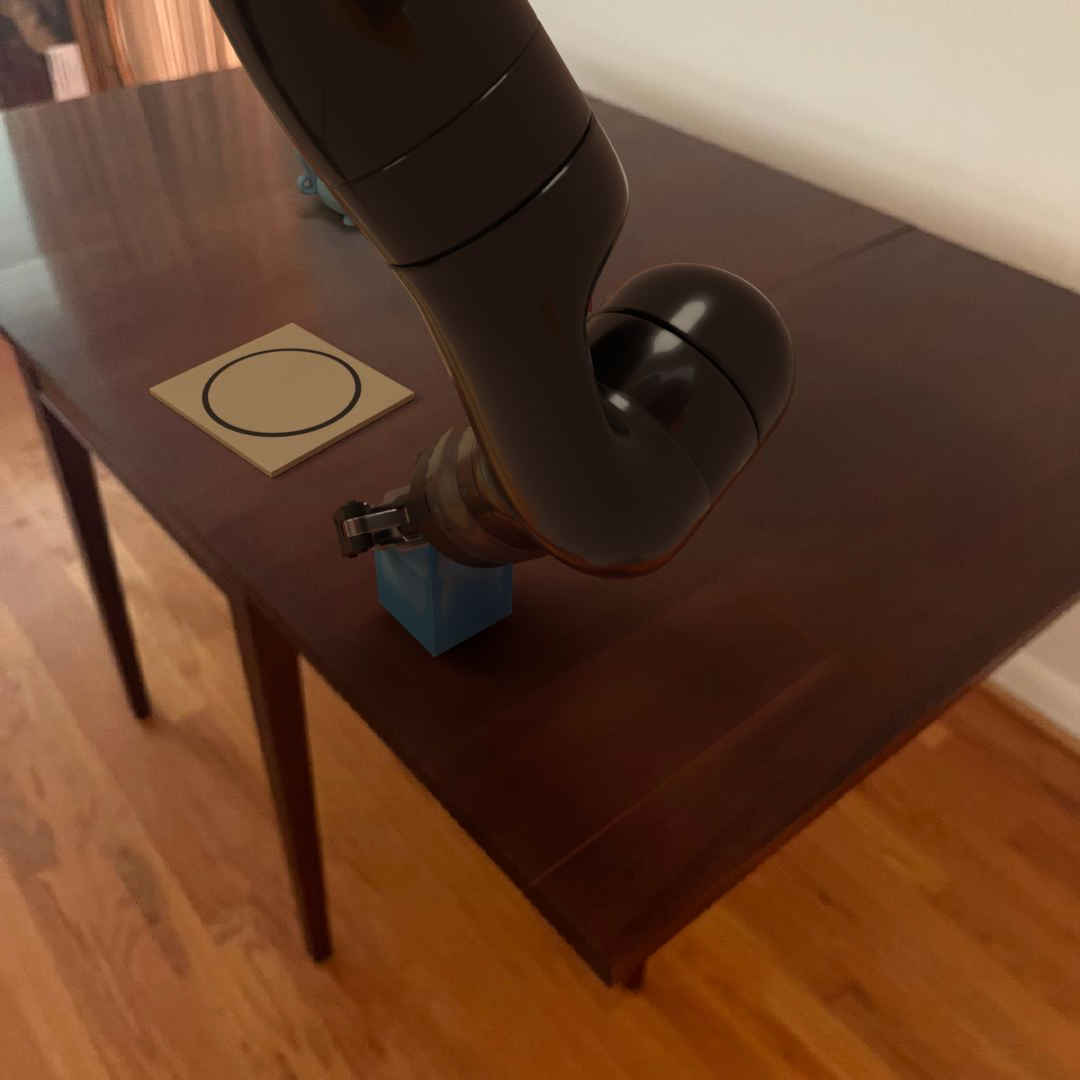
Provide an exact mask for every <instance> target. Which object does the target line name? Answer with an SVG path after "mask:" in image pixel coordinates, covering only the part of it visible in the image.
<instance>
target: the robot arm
mask: <svg viewBox="0 0 1080 1080" xmlns="http://www.w3.org/2000/svg"><path fill="white" fill-rule="evenodd" d="M208 3H209V4H210V6H211V9H212V11H213V12H214V15H215V17H216V19H217V21H218V23H219V25H220V27H221V29H222V31H223V33H224V34H225V36H226V38H227V40H228V42H229V44H230V46H231V48H232V49H233V51H234V54H235V55H236V57H237V59H238V60H239V62H240V64H241V66H242V67H243V69H244V71H245V72H246V74H247V76H248V78H249V79H250V81H251V83H252V85H253V86H254V87H255V90H256V91H257V93H258V94H259V97H261V99H262V101H263V102H264V103H265V105H266V107H267V108H268V110H269V111H270V112H271V115H272V116H273V118H274V119H275V121H276V122H277V123H278V125H279V126H280V128H281V129H282V130H283V132H284V133H285V135H286V136H287V138H288V139H289V140H290V142H291V143H292V145H293V146H294V148H295V147H296V149H297V150H298V151H299V153H300V154H301V155H302V157H303V158H304V159H305V161H306V162H307V163H308V164H309V166H310V167H311V168H312V170H313V171H314V172H315V174H316V175H317V176H318V178H319V179H320V180H321V181H322V182H323V183H324V184H325V186H326V188H327V189H328V190H329V192H330V193H331V194H332V195H333V197H334V198H335V199H336V200H337V202H338V203H339V204H340V206H341V207H342V208H343V209H344V211H345V212H346V213H347V214H348V216H349V217H350V218H351V220H352V221H353V222H354V223H355V225H356V226H355V227H357V228H358V230H359V231H360V232H361V234H362V235H363V236H364V238H365V239H366V240H367V241H368V243H369V244H370V245H371V246H372V248H373V249H374V250H375V252H376V253H377V254H378V255H379V257H380V258H381V259H382V261H384V262H385V264H386V265H387V267H388V268H389V270H390V271H391V272H392V273H393V274H394V276H395V277H396V278H397V279H398V281H399V283H401V285H402V286H403V287H404V289H405V290H406V292H407V293H408V295H409V296H410V298H411V299H412V301H413V302H414V304H415V306H416V308H417V310H418V311H419V313H420V315H421V318H422V319H423V321H424V324H425V326H426V328H427V330H428V332H429V334H430V336H431V339H432V341H433V343H434V345H435V347H436V349H437V351H438V353H439V355H440V358H441V360H442V362H443V364H444V366H445V368H446V371H447V373H448V375H449V377H450V380H451V381H452V383H453V386H454V388H455V391H456V392H457V395H458V397H459V400H460V403H461V404H462V405H461V406H462V407H463V409H464V412H465V414H464V415H463V416H462V417H461V418H459V419H458V420H457V421H456V422H454V423H453V424H452V425H451V426H450V427H448V428H446V430H445V431H443V432H442V433H441V434H439V435H438V436H437V437H436V438H435V439H433V440H432V441H431V442H430V443H429V444H428V445H427V447H426V448H424V449H425V451H424V452H423V454H422V455H421V457H420V459H419V461H418V463H417V465H416V467H414V470H413V473H412V476H413V477H412V476H411V481H410V484H407V485H404V486H401V487H397V488H395V489H392V490H388V491H386V492H385V494H384V495H383V501H382V502H381V503H378V504H376V503H373V504H371V503H370V502H369V501H365V502H364V501H356V500H349V501H347V502H345V503H346V504H344V505H341V506H339V507H338V508H337V509H336V511H335V512H334V513H333V514H332V515H331V518H332V522H333V524H334V526H335V530H336V535H337V537H338V538H337V539H338V542H339V543H338V544H339V546H340V549H339V551H340V554H341V558H348V559H349V560H350V559H354V558H358V557H359V556H358V555H360V554H363V553H367V552H369V550H371V552H375V550H378V552H381V551H385V550H387V549H386V548H387V547H391V546H395V547H396V549H397V550H398V551H400V552H403V551H407V550H412V549H417V548H420V547H424V546H428V545H432V546H433V547H434V548H435V549H436V550H437V551H438V552H439V553H441V554H442V555H443V556H445V557H447V558H448V559H450V560H452V561H454V562H456V563H459V564H461V565H464V566H468V567H473V568H496V567H501V566H506V565H510V564H513V565H515V564H519V563H524V562H529V561H534V560H538V559H542V558H546V557H548V556H551V557H553V558H554V559H555V560H557V561H558V562H560V563H561V564H563V565H565V566H567V567H568V568H569V569H573V570H575V571H577V572H580V573H581V574H584V575H587V576H592V577H596V578H600V579H605V580H632V579H635V578H636V579H637V578H641V577H645V576H648V575H650V574H653V573H655V572H656V571H657V570H659V569H661V568H662V567H664V566H665V565H666V564H668V563H669V562H670V561H671V560H672V559H673V558H674V557H675V556H676V555H678V554H679V553H680V552H681V550H683V548H684V547H685V546H686V544H687V543H688V542H689V541H690V540H691V538H692V537H693V536H694V535H695V533H696V532H697V531H698V529H699V528H700V527H701V525H702V524H703V523H704V521H705V520H706V519H707V518H708V516H709V515H710V514H711V513H712V511H713V509H714V508H715V507H716V506H717V505H718V503H719V502H720V501H721V500H722V499H723V497H724V496H725V495H726V493H727V492H728V491H729V489H730V488H731V487H732V486H733V485H734V483H735V482H736V481H737V479H738V478H739V477H740V475H741V474H742V473H743V471H744V470H745V469H746V468H747V466H748V465H749V464H750V463H751V462H752V460H753V459H754V457H756V455H757V454H758V453H759V451H760V450H761V449H762V448H763V447H764V445H765V444H766V443H767V441H768V440H769V439H770V438H771V436H772V435H773V433H774V432H775V431H776V429H777V428H778V426H779V424H780V423H781V422H782V420H783V419H784V416H785V415H786V412H787V410H788V409H789V405H790V403H791V400H792V397H793V394H794V390H795V386H796V379H797V378H796V377H797V359H796V352H795V347H794V343H793V340H792V336H791V333H790V331H789V328H788V327H787V324H786V322H785V320H784V319H783V317H782V315H781V313H780V311H778V309H777V307H776V306H775V305H774V304H773V302H772V301H771V300H770V299H769V298H768V297H767V296H766V295H765V294H764V293H763V292H762V291H761V290H760V289H759V288H757V287H756V286H754V284H752V283H751V282H750V281H747V280H746V279H744V278H743V277H741V276H739V275H737V274H735V273H732V272H731V271H728V270H726V269H723V268H720V267H716V266H713V265H710V264H709V265H708V264H703V263H696V262H670V263H665V264H660V265H655V266H651V267H648V268H645V269H643V270H640V271H638V272H636V273H635V274H632V275H631V276H630V277H628V278H626V279H625V280H623V281H622V282H621V283H619V285H618V286H617V287H615V288H614V289H613V290H612V291H611V292H610V293H609V294H608V295H607V296H606V297H605V298H604V299H603V300H602V301H601V302H600V303H599V304H598V305H597V306H596V307H595V308H594V309H593V311H592V313H591V314H590V315H589V316H588V317H587V315H588V310H589V305H590V300H591V297H592V298H593V295H594V292H595V289H596V287H597V285H598V281H599V279H600V277H601V275H602V273H603V271H604V270H605V267H606V265H607V263H608V261H609V259H610V257H611V256H612V253H613V251H614V249H615V247H616V244H617V242H618V240H619V238H620V235H621V233H622V231H623V228H624V226H625V223H626V220H627V218H628V212H629V209H630V199H631V198H630V195H631V194H630V185H629V182H628V178H627V174H626V172H625V169H624V167H623V164H622V162H621V159H620V158H619V155H618V153H617V151H616V149H615V148H614V146H613V144H612V142H611V140H610V138H609V137H608V134H607V132H606V131H605V130H604V127H603V126H602V124H601V123H600V121H599V119H598V118H597V116H596V114H595V113H594V111H593V110H592V108H591V105H590V104H589V102H588V100H587V99H586V97H585V95H584V93H583V92H582V90H581V89H580V87H579V85H578V84H577V82H576V79H575V78H574V76H573V74H571V72H570V70H569V68H568V66H567V64H566V63H565V61H564V59H563V58H562V56H561V55H560V53H559V51H558V49H557V48H556V45H555V44H554V43H553V41H552V38H551V37H550V35H549V34H548V32H547V30H546V29H545V27H544V25H543V24H542V22H541V21H540V19H539V18H538V16H537V13H536V12H535V10H534V8H533V7H532V5H531V3H530V2H529V0H208ZM390 529H392V536H391V533H390ZM420 535H423V537H422V536H420Z"/></svg>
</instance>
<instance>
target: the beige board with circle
mask: <svg viewBox="0 0 1080 1080" xmlns="http://www.w3.org/2000/svg"><path fill="white" fill-rule="evenodd" d="M148 389H149V394H150V395H151V396H152V397H153V398H155V399H157V400H158V401H159V402H161V403H162V404H163V405H165V406H167V407H168V408H169V409H171V410H172V411H174V412H175V413H177V414H178V415H180V416H181V417H182V418H184V419H185V420H187V421H188V422H190V423H191V424H193V425H194V426H196V427H197V428H198V429H200V430H201V431H203V432H204V433H205V434H207V435H209V436H210V437H211V438H213V439H214V440H216V441H217V442H218V443H220V444H221V445H223V446H225V447H226V448H228V450H230V451H232V452H233V453H234V454H236V455H237V456H239V457H240V458H242V459H243V460H245V461H246V462H247V463H249V464H250V465H252V466H253V467H254V468H256V469H258V470H259V471H260V472H262V473H264V474H265V475H266V476H267V477H269V478H271V479H273V478H275V477H277V476H279V475H281V474H282V473H284V472H286V471H288V470H289V469H291V468H293V467H295V466H296V465H298V464H301V463H303V462H304V461H306V460H308V459H310V458H311V457H313V456H314V455H316V454H318V453H319V452H322V451H324V450H325V449H327V448H329V447H331V446H332V445H334V444H336V443H338V442H339V441H341V440H343V439H345V438H347V437H348V436H350V435H352V434H354V433H355V432H358V431H359V430H360V429H362V428H364V427H366V426H368V425H370V424H372V423H373V422H375V421H377V420H380V418H382V417H384V416H386V415H388V414H389V413H391V412H393V411H395V410H397V409H398V408H400V407H402V406H404V405H405V404H407V403H409V402H410V401H412V400H414V399H415V397H416V396H415V395H416V394H415V392H414V391H413V390H411V389H410V388H407V387H405V386H404V385H402V384H401V383H399V382H397V381H396V380H393V379H392V378H390V377H388V376H386V375H385V374H383V373H382V372H379V371H378V370H376V369H375V368H372V367H371V366H369V365H367V364H366V363H363V362H362V361H361V360H359V359H357V358H355V357H353V356H352V355H349V354H348V353H346V352H345V351H343V350H341V349H339V348H337V347H336V346H335V345H333V344H330V343H329V342H328V341H325V340H324V339H322V338H320V337H319V336H317V335H315V334H313V333H311V332H310V331H308V330H306V329H305V328H303V327H301V326H299V325H298V324H296V323H294V322H291V323H288V324H285V325H283V326H281V327H280V328H277V329H275V330H273V331H270V332H268V333H267V334H264V335H262V336H260V337H258V338H256V339H253V340H251V341H249V342H247V343H244V344H243V345H240V346H238V347H236V348H234V349H231V350H229V351H227V352H225V353H223V354H221V355H219V356H217V357H214V358H212V359H210V360H207V361H205V362H204V363H201V364H198V365H197V366H195V367H193V368H190V369H187V370H186V371H184V372H182V373H180V374H178V375H175V376H174V377H171V378H169V379H167V380H165V381H162V382H160V383H158V384H156V385H153V386H152V387H149V388H148Z"/></svg>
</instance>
